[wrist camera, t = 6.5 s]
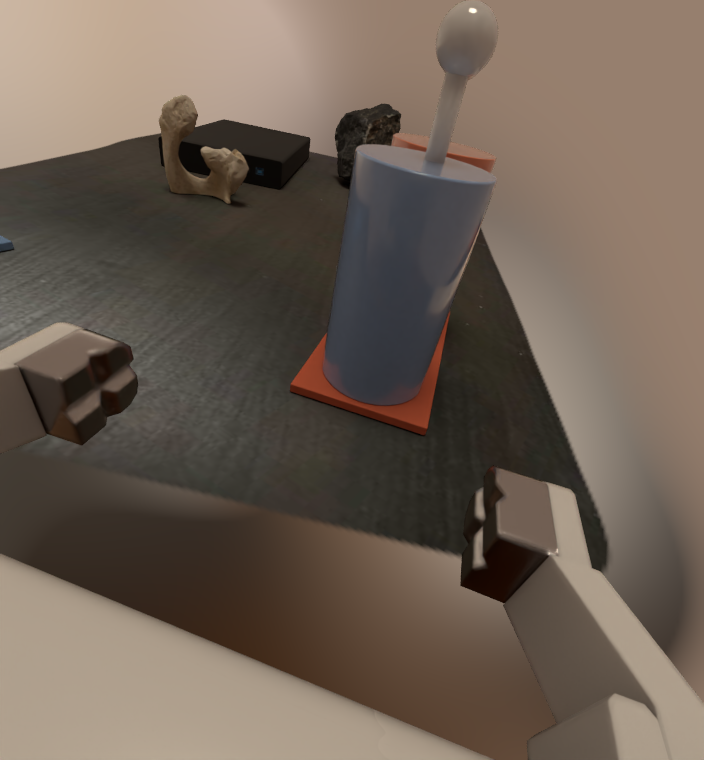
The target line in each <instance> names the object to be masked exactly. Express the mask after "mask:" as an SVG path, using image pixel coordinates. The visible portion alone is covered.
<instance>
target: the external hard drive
mask: <svg viewBox="0 0 704 760" xmlns="http://www.w3.org/2000/svg"><path fill="white" fill-rule="evenodd" d="M162 145H163V142H162V137H159V148H160V157H161V164H162V165H163V166H165V164H164V157H163V146H162ZM205 146H206V147H210V148H213V149H222V148H226V149H228V150H230V151H231V152H232V151H233V150H234V149H236V150H238V152H240V153H241V154H242V155H243V156H244V159H245V160H246V163H247V165H248V167H249V170H248V171H247V175H246V177H245V179H244V181H243V182H246V183H251V184H256V185H261V186H266V187H271V188H276V189H280V188H281V187H282V186H283V185H284V184H285V183H286V181H287V180H288V179H289V178H290V177H291V176H292V175H293V174H294V173H295V171H296V170H297V169H298V168H299V167H300V166H301V165H302V164H303V163H304V161H305V160H306V159H307V158H308V157H309V148H310V138H309V137H304V136H300V135H296V134H291V133H286V132H281V131H277V130H271V129H267V128H262V127H258V126H253V125H248V124H243V123H239V122H234V121H229V120H220V121H217V122H213V123H209V124H206V125H202V126H199V127H195V129H194V131H193V132H192V133H191V134H190V135H188V136H187V137H185V138H184V139H183V140H182V141H181V143H180V145H179V151H178V156H179V160H180V162H181V164H182V166H183V167H184V168H185V169H186V170H187V171H191V172H196V173H201V174H206V175H210V172H211V169H210V168H209V167H208V166H207V164H206V163H205V161H204V158H203V157H202V155H201V149H202V148H203V147H205Z"/></svg>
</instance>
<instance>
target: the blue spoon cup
mask: <svg viewBox="0 0 704 760" xmlns="http://www.w3.org/2000/svg"><path fill="white" fill-rule="evenodd" d="M497 39H498V25H497V20H496V17H495V15H494V12H493V11H492V9H491V8H490V7H489V6H488V5H487V4H486V3H484V2H482V1H480V0H465V1H462V2H460V3H459V4H457V5H455V6H454V7H453V8H452V9H451V10H450V11H449V12H448V13H447V14H446V16H445V17H444V19H443V21H442V22H441V24H440V27H439V30H438V33H437V38H436V54H437V58H438V61H439V63H440V65H441V67H442V68H443V70H444V71H445V72H446V74H445V78H444V82H443V86H442V90H441V94H440V98H439V102H438V106H437V110H436V114H435V118H434V122H433V126H432V130H431V134H430V137H429V141H428V145H427V149H426V152H423V151H418V150H413V149H408V148H402V147H395V146H387V145H376V144H367V145H361V146H358V147H357V148H356V150H355V156H354V163H353V169H352V176H351V182H350V188H349V195H348V201H347V207H346V214H345V220H344V227H343V233H342V239H341V246H340V252H339V258H338V265H337V271H336V278H335V284H334V290H333V297H332V303H331V310H330V316H329V322H328V329H327V335H326V341H325V348H324V354H323V361H322V369H323V372H324V375H325V377H326V379H327V380H328V381H329V383H330V384H331V385H332V386H333V387H334V388H335V389H337V390H338V391H339V392H341V393H342V394H344V395H346V396H348V397H350V398H352V399H354V400H357V401H360V402H363V403H367V404H372V405H381V406H389V405H397V404H402V403H405V402H407V401H409V400H411V399H413V398H414V397H415V396H417V394H418V393H419V392H420V391H421V389H422V386H423V383H424V380H425V378H426V375H427V372H428V369H429V367H430V364H431V361H432V359H433V356H434V353H435V350H436V348H437V345H438V342H439V339H440V337H441V334H442V331H443V328H444V326H445V323H446V320H447V317H448V315H449V312H450V309H451V306H452V304H453V301H454V298H455V295H456V293H457V290H458V287H459V284H460V282H461V279H462V276H463V273H464V271H465V268H466V265H467V263H468V260H469V257H470V254H471V252H472V249H473V246H474V243H475V241H476V238H477V235H478V232H479V230H480V227H481V224H482V221H483V219H484V216H485V213H486V210H487V207H488V205H489V202H490V199H491V197H492V194H493V191H494V188H495V186H496V183H497V179H496V178H495V176H494V175H492V174H491V173H489V172H487V171H485V170H483V169H481V168H478V167H476V166H473V165H470V164H467V163H464V162H461V161H458V160H455V159H451V158H448V157H446V155H447V151H448V148H449V144H450V141H451V137H452V134H453V130H454V126H455V123H456V119H457V116H458V112H459V108H460V105H461V102H462V98H463V94H464V91H465V88H466V84H467V81H468V77H470V76H473V75H475V74H476V73H478V72H479V71H481V70H482V69H483V68H484V67H485V66H486V64H487V63H488V62H489V60H490V58H491V57H492V55H493V52H494V50H495V47H496V44H497Z"/></svg>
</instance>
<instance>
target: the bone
mask: <svg viewBox="0 0 704 760" xmlns="http://www.w3.org/2000/svg"><path fill="white" fill-rule="evenodd" d="M197 117H198V114H197V111H196V109H195V106H194V103H193V101H192V100H191V99H190V98H189V97H188V96H186V95H181V96H178V97H174V98H173V99H172V100H170V101H168V102H167V103H165V104H164V105H163V108H162V115H161V117H160V119H159V124H160V128H161V134H162V142H163V145H162V146H163V157H164V164H165V170H166V175H167V179H168V182H169V186H170V189H171V191H172V192H174V193H178V194H199V195H211V196H215V197H218V198H220V199H222V200H224V201H225V202H226V203H228V204H230V203H231V202H230V196H231V195H232V194H233V193H235V192H236V191H237V189H238V188H239V186H240V185H241V184H242V182H243V181H244V179H245V177H246V175H247V171H248V170H249V167H248V165H247V163H246V160H245V159H244V156H243V155H242V154H241V153H240V152H238V150H236V149H234V150H233V151H232V152H231V151H230V150H228V149H226V148H222V149H213V148H210V147H206V146H205V147H203V148H202V149H201V155H202V157H203V158H204V161H205V163H206V164H207V166H208V167H209V168H210V169H211V172H210V175H209V176H208V177H207V178H205V179H201V178H198V177H195V176H193V175H192V174H190V173H189V172H188V171H187V170H186V169H185V168H184V167H183V166H182V164H181V162H180V160H179V156H178V151H179V145H180V143H181V141H182V140H183V139H184V138H185V137H187V136H188V135H190V134H191V133H192V132H193V131H194V129H195V125H196V120H197Z"/></svg>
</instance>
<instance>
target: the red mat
mask: <svg viewBox="0 0 704 760" xmlns="http://www.w3.org/2000/svg"><path fill="white" fill-rule="evenodd" d="M449 315H450V312H449ZM449 315H448V317H447V320H446V323H445V326H444V328H443V331H442V334H441V337H440V339H439V342H438V345H437V348H436V350H435V353H434V356H433V359H432V361H431V364H430V367H429V369H428V372H427V375H426V378H425V380H424V383H423V386H422V389H421V391H420V392H419V393H418V394H417V396H415V397H414V398H413V399H411V400H409V401H407V402H405V403H402V404H397V405H389V406H381V405H372V404H367V403H363V402H360V401H357V400H354V399H352V398H350V397H348V396H346V395H344V394H342V393H341V392H339V391H338V390H337V389H335V388H334V387H333V386H332V385H331V384H330V383H329V381H328V380H327V379H326V377H325V375H324V372H323V369H322V361H323V354H324V348H325V341H326V335H327V333H326V335H325V336H324V338H323V339H322V340H321V342H320V343H319V345H318V346H317V347H316V349H315V350H314V352H313V353H312V355H311V356H310V357H309V359H308V360H307V362H306V363H305V364H304V366H303V367H302V369H301V370H300V372H299V373H298V374H297V376H296V377H295V379H294V380H293V381H292V383H291V386H290V391H291V392H294V393H297V394H300V395H303V396H306V397H309V398H312V399H315V400H318V401H321V402H324V403H327V404H330V405H333V406H336V407H339V408H342V409H345V410H348V411H351V412H354V413H357V414H361V415H364V416H367V417H370V418H373V419H376V420H379V421H382V422H385V423H388V424H391V425H394V426H397V427H400V428H403V429H406V430H409V431H412V432H415V433H418V434H421V435H425V433H426V431H427V428H428V423H429V418H430V413H431V407H432V402H433V397H434V392H435V387H436V382H437V376H438V371H439V366H440V361H441V356H442V351H443V346H444V340H445V335H446V330H447V325H448V320H449Z"/></svg>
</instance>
